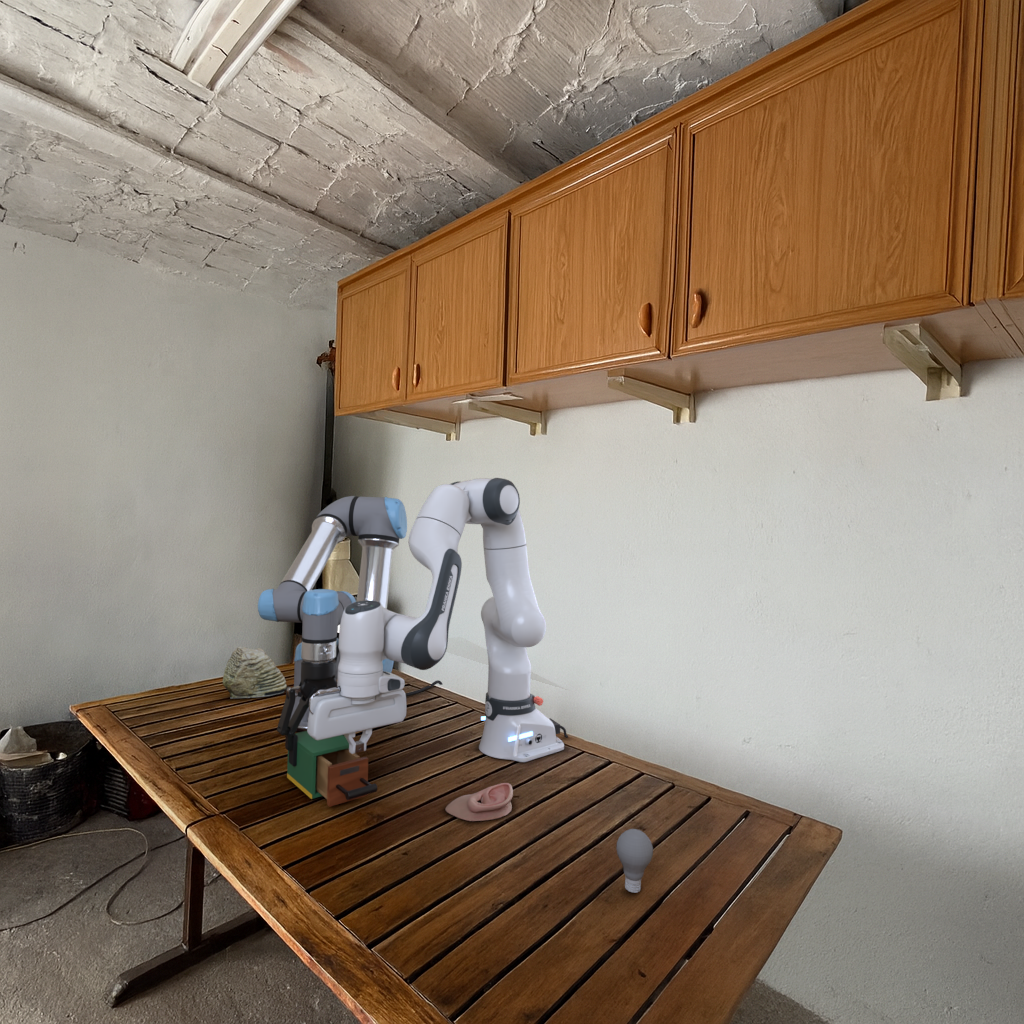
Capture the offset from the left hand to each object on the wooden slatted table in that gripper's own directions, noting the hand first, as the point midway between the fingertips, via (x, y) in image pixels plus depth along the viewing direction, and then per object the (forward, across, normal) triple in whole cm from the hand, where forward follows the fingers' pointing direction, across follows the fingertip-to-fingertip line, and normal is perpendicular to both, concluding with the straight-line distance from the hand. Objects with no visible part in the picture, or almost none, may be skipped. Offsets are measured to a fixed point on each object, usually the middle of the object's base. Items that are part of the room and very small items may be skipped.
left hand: (315, 758), depth 142 cm
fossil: (+4, +8, +66) cm, 67 cm away
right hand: (-8, 0, -20) cm, 21 cm away
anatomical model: (+5, +22, -33) cm, 40 cm away
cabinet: (+4, 0, -3) cm, 5 cm away
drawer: (+3, 0, -14) cm, 14 cm away
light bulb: (+5, +26, -70) cm, 74 cm away
